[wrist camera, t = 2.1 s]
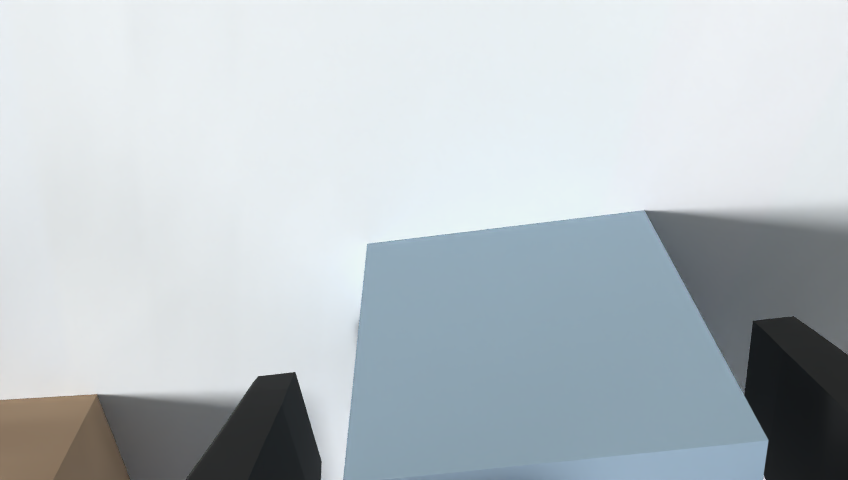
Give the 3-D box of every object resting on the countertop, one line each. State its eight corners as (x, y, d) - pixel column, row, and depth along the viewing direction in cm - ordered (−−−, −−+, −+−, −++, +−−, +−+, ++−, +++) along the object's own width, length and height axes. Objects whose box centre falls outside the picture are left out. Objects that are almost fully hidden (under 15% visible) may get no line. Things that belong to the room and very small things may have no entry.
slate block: (639, 412, 14) (734, 677, 10) (407, 437, 15) (403, 704, 10) (643, 208, 12) (768, 440, 8) (367, 242, 12) (342, 483, 8)
